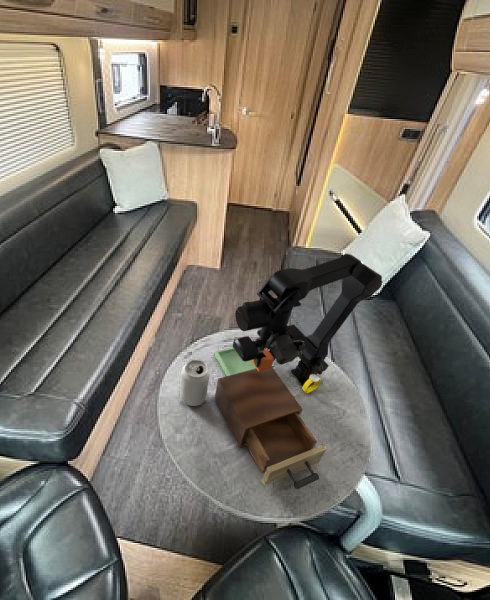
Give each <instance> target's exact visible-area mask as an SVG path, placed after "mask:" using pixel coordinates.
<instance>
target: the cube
mask: <svg viewBox="0 0 490 600" xmlns="http://www.w3.org/2000/svg"><path fill="white" fill-rule="evenodd" d="M263 353H264V354H265V355H266V357H264V358H262V359H261V362H260V365H259V367H258V368H257V367H256V366H255V363H254V360H252V361H251V362H252V363H253V365H254V366H255V367H256V369H257V370H258V371H259V372H261V371H264V370H267V369H270V368H271V367H272V364H273V365H274V361H275V360H274V357H273V356H272V355H271V353H270V352H269V350H268V349H267V348H265V350H264V352H263Z"/></svg>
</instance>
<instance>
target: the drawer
mask: <svg viewBox="0 0 490 600" xmlns="http://www.w3.org/2000/svg"><path fill="white" fill-rule="evenodd" d="M244 441H245V443H246V445H245V446H246V447H247V449H248V451H249V453H250V454H251V457H252V459H253V461H254V463H255V464H256V466H257V468H258V470H259V471H260V473H261V474H264V475H263V476H262V479H261V483H262V485H263V486H264V487H266V486H268V485H271V484H273V483H275V482H278V481H281V480H282V479H285V478H287V477H289V478H290V479H291V481H292V485H293V488H294V489H295V490H300V489H301V488H304V487H306V486H308V485H310V484H312V483H314V482H317V481H318V480H320V475H319V474H318V473H317V472H315V471H314V469H313V466H315V465H317V464H319V462H320V461H321V459H322V457H323V456H324V454H325V453H326V451H327V447H326V446H325V444H321V445H319V446H316V444H317V442H318V439H316V437H315V436H314V434H313V433H312V431H311V430H310V429H309V427H308V425H306V423H305V422H304V420H303V419H302V417H301V415H300V416H299V415H298V413H294V414H291V415H288V416H285V417H282V418H279V419H277V420H274V421H271V422H268V423H265V424H262V425H259V426H256V427H254V428H251V429H248V430H247V433H246V437H245V440H244ZM315 446H316V447H315ZM306 469H308V471H309V473H310V474H309V475H307V476H305V477H303V478H301V479H297V478H296V477H295V476H294V474H296V473H299V472H301V471H303V470H306ZM296 479H297V480H296Z"/></svg>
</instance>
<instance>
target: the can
mask: <svg viewBox="0 0 490 600" xmlns="http://www.w3.org/2000/svg"><path fill="white" fill-rule="evenodd" d="M210 377H211V371H210V367H209V366H208V364H207V363H206V362H205V361H203V360H201V359H196V358H195V359H190V360H188V361H187V362H186V363H185V364H184V365H183V366H182V368H181V376H180V387H179V397H180V400H181V401H182V402H183V403H184V404H185V405H188V406H191V407H197V406H200V405H202V404H203V403H204V402H205V401H206V399H207V395H208V390H209V382H210Z"/></svg>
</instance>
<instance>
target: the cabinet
mask: <svg viewBox="0 0 490 600" xmlns="http://www.w3.org/2000/svg"><path fill="white" fill-rule="evenodd" d="M214 399H215V401H216V403H217V405H218V406H219V409H220V411H221V413H222V415H223V417H224V419H225V421H226V423H227V425H228V427H229V429H230V431H231V433H232V434H233V436H234V438H235V440H236V443H237V444H238V446H239V448H241V447H244V446H247V445H246V443H245V441H244V440H245V437H246V433H247V430H248V429H251V428H254V427H256V426H259V425H262V424H265V423H268V422H271V421H274V420H277V419H279V418H282V417H285V416H288V415H291V414H294V413H298V415H299V416H300V417H301V414H302V411H303V407H302V406H301V404H300V403H299V401H298V400H297V399H296V397H295V396H294V395H293V393H292V392H291V390H290V389H289V388H288V387H287V386H286V384H285V382H283V380H282V378H281V377H280V376H279V374H278V373H277V372H276V370H275V369H274V368H272V367H271V368H270V369H267V370H264V371H261V372H259V371H258V370H257V369H252V370H248V371H244V372H241V373H237V374H233V375H230V376H227V375H226V376H222V377H218V378H217V384H216V387H215V393H214Z"/></svg>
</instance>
